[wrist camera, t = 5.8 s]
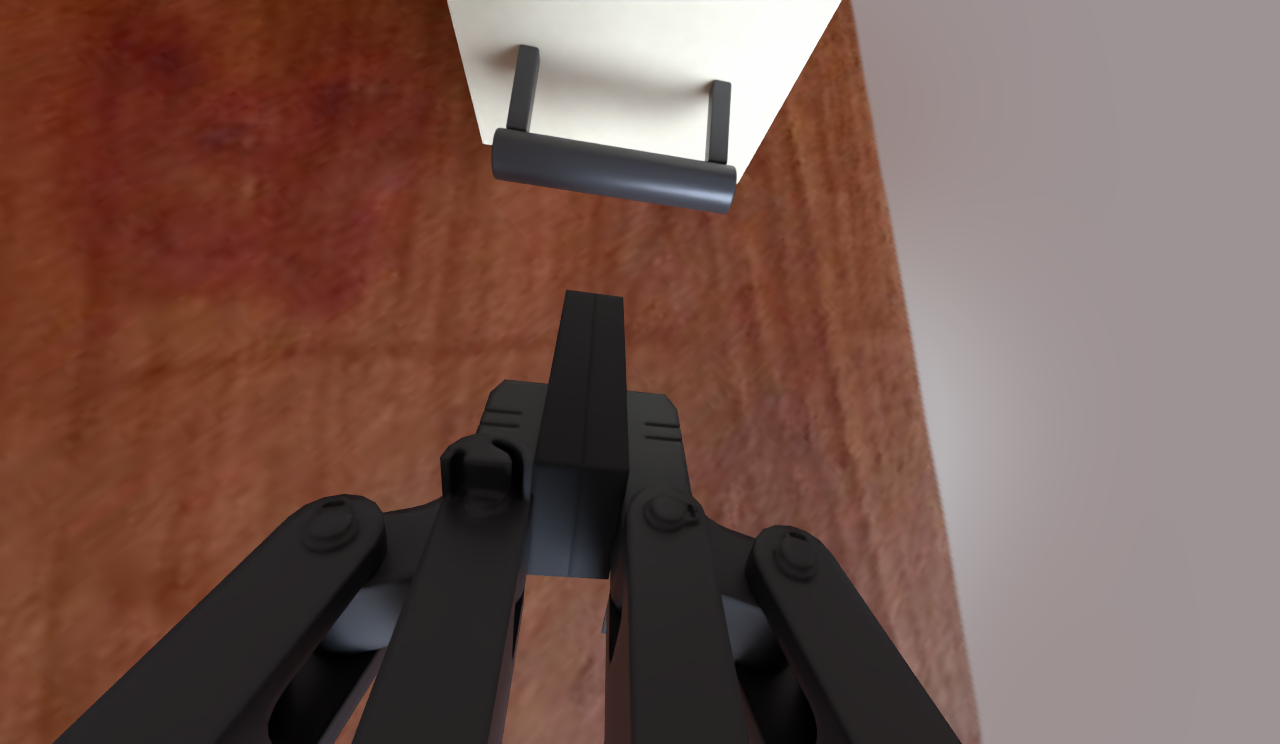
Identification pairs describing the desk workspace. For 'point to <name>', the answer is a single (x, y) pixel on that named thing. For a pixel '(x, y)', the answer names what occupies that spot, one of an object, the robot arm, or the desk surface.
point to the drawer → (633, 90)
